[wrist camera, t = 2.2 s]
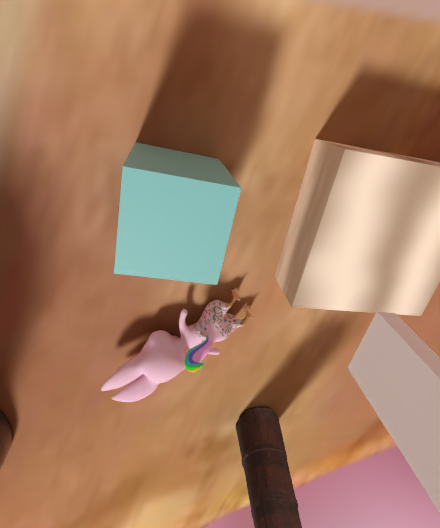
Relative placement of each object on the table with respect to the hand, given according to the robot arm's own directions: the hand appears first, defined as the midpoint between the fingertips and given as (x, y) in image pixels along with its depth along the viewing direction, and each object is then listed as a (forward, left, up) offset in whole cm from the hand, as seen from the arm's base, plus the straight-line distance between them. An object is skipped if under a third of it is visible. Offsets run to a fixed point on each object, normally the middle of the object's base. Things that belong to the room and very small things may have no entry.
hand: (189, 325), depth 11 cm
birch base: (+16, 0, -16) cm, 23 cm away
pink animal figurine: (+2, -14, -16) cm, 22 cm away
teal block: (0, 0, -16) cm, 16 cm away
